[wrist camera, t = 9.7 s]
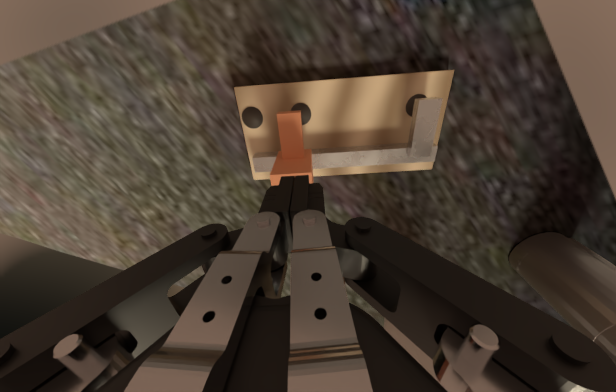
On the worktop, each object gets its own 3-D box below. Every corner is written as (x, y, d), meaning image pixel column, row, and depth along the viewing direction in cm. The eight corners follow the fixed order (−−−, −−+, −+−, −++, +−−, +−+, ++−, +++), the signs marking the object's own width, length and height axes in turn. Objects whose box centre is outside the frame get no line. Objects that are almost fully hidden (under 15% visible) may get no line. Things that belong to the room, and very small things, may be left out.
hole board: (448, 69, 26) (454, 69, 25) (427, 165, 32) (432, 169, 31) (236, 86, 27) (233, 87, 26) (255, 176, 33) (253, 180, 32)
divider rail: (440, 94, 26) (455, 97, 23) (427, 155, 30) (439, 165, 27) (246, 108, 27) (239, 113, 24) (258, 166, 31) (253, 176, 28)
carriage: (308, 104, 26) (307, 120, 19) (312, 169, 31) (313, 204, 23) (275, 107, 27) (260, 123, 19) (284, 171, 31) (275, 206, 23)
